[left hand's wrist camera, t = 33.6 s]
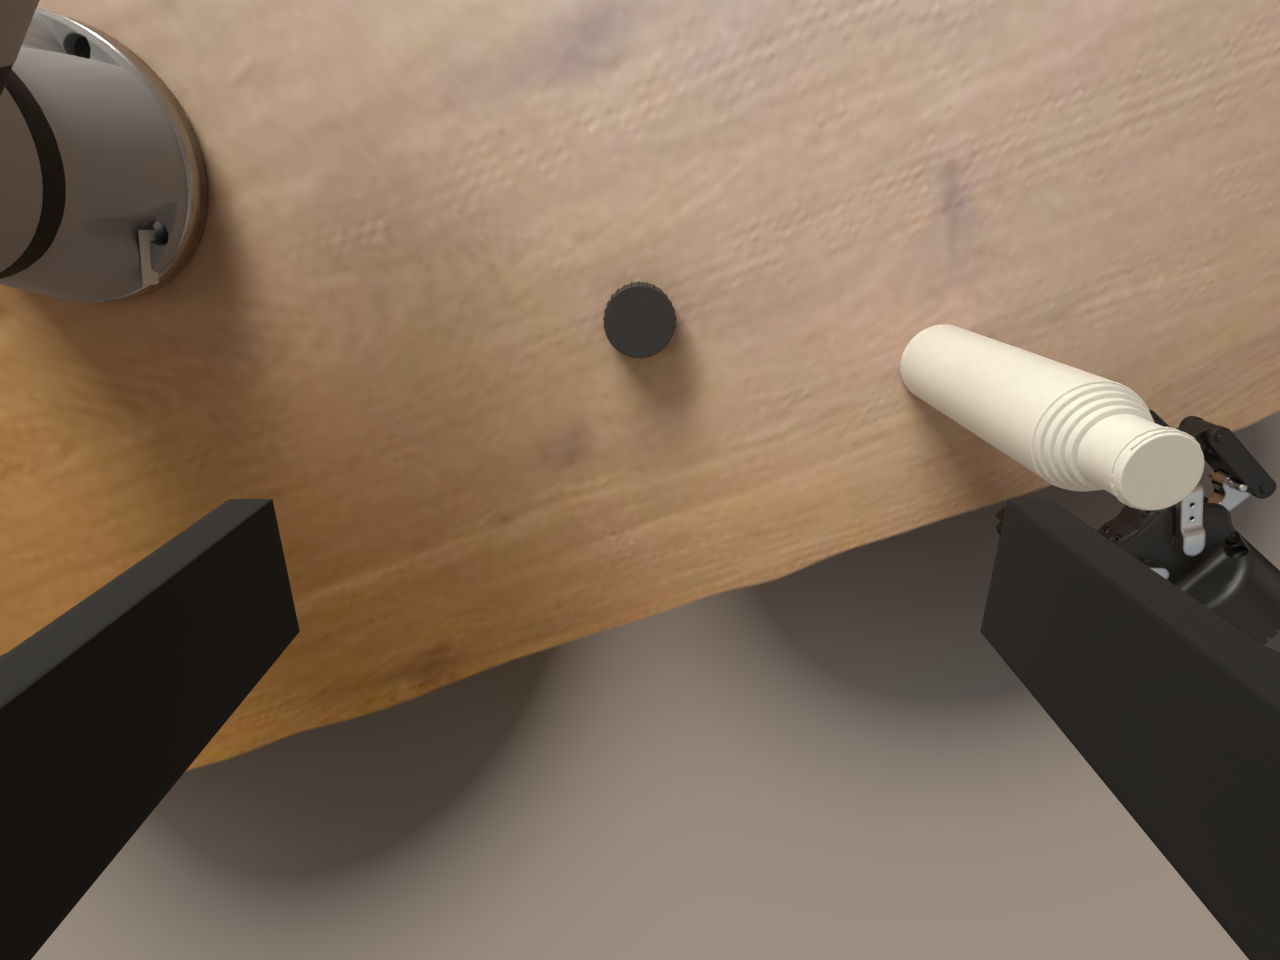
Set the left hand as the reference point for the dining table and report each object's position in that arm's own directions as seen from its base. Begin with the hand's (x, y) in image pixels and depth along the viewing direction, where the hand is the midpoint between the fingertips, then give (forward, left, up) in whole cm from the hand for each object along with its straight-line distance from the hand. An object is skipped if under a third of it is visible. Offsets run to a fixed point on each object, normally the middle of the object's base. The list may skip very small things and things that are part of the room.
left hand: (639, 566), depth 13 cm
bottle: (+18, -7, -34) cm, 39 cm away
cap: (0, 0, -32) cm, 32 cm away
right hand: (+23, -13, -28) cm, 38 cm away
